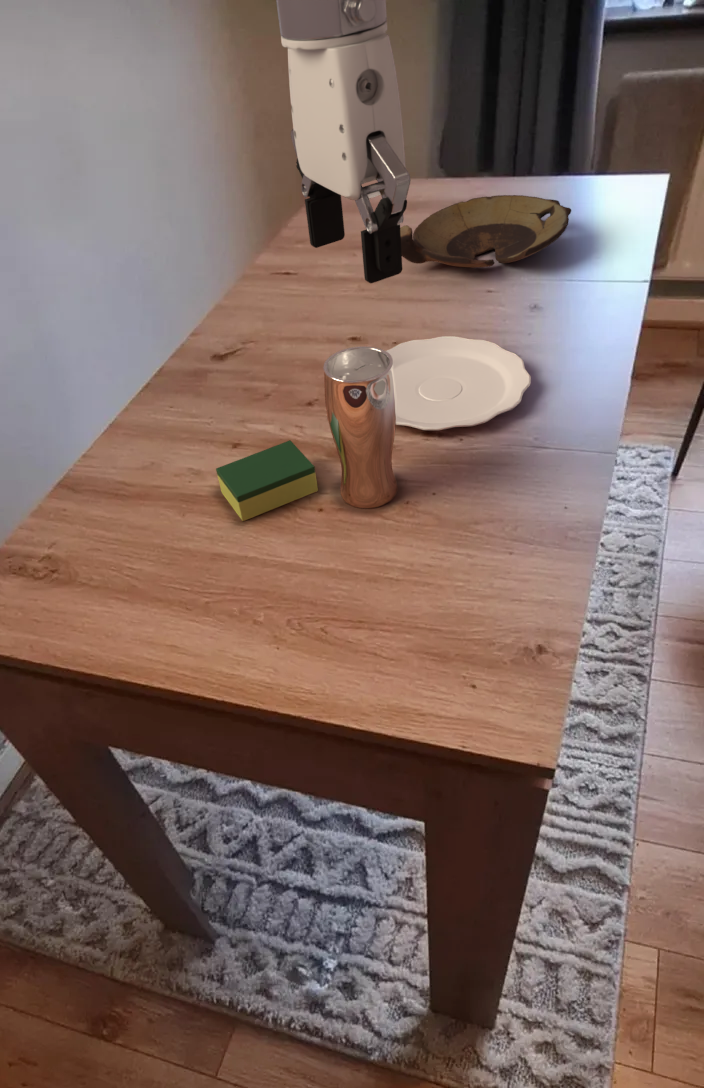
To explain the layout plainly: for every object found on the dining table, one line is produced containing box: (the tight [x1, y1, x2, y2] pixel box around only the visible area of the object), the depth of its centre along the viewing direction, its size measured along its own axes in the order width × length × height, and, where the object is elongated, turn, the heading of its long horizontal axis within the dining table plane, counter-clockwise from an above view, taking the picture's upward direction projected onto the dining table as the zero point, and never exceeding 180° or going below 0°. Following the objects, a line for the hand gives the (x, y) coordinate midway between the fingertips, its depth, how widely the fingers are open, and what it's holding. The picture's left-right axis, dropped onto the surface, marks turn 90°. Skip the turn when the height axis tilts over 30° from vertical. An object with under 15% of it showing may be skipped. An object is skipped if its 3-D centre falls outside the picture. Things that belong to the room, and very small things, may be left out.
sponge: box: [215, 439, 319, 522], centre depth 86 cm, size 9×6×3 cm, turn 117°
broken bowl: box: [400, 194, 572, 268], centre depth 121 cm, size 22×30×8 cm
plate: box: [385, 335, 532, 431], centre depth 97 cm, size 21×21×2 cm
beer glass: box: [322, 345, 398, 509], centre depth 80 cm, size 7×7×15 cm
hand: (354, 259), depth 67 cm, fingers open, 9 cm apart
